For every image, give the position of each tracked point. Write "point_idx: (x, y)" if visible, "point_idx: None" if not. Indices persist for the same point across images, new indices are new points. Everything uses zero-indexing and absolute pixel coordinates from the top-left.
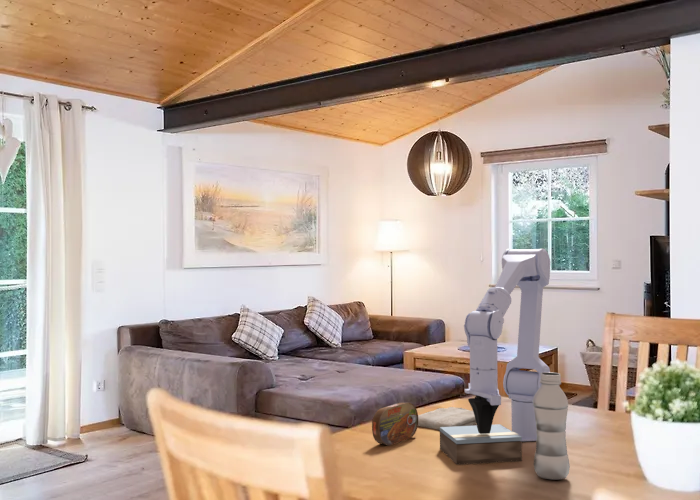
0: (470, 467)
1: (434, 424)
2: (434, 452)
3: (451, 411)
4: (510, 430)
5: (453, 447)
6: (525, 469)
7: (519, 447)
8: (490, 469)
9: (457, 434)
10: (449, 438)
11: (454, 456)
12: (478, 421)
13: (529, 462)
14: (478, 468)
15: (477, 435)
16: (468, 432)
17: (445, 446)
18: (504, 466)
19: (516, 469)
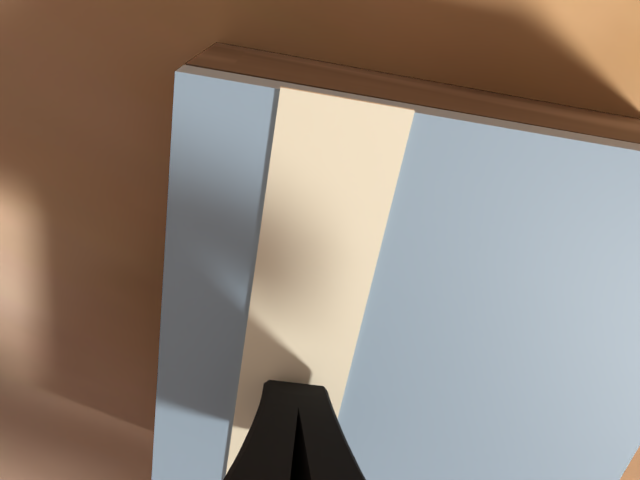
0: (126, 111)
1: None
2: (604, 36)
3: None
4: None
5: (300, 75)
6: (20, 392)
7: None
8: (52, 217)
9: (416, 203)
10: (439, 109)
11: (271, 58)
12: (246, 460)
13: (148, 462)
14: (90, 153)
15: (279, 346)
16: (438, 331)
17: (529, 107)
18: (102, 322)
19: (27, 352)
